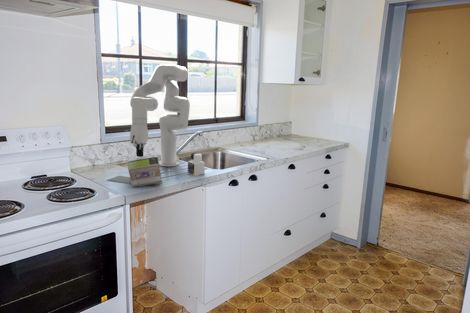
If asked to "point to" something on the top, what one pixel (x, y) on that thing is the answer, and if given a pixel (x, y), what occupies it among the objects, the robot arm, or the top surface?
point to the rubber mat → (126, 180)
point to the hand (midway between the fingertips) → (139, 156)
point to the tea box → (144, 171)
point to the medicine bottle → (196, 164)
